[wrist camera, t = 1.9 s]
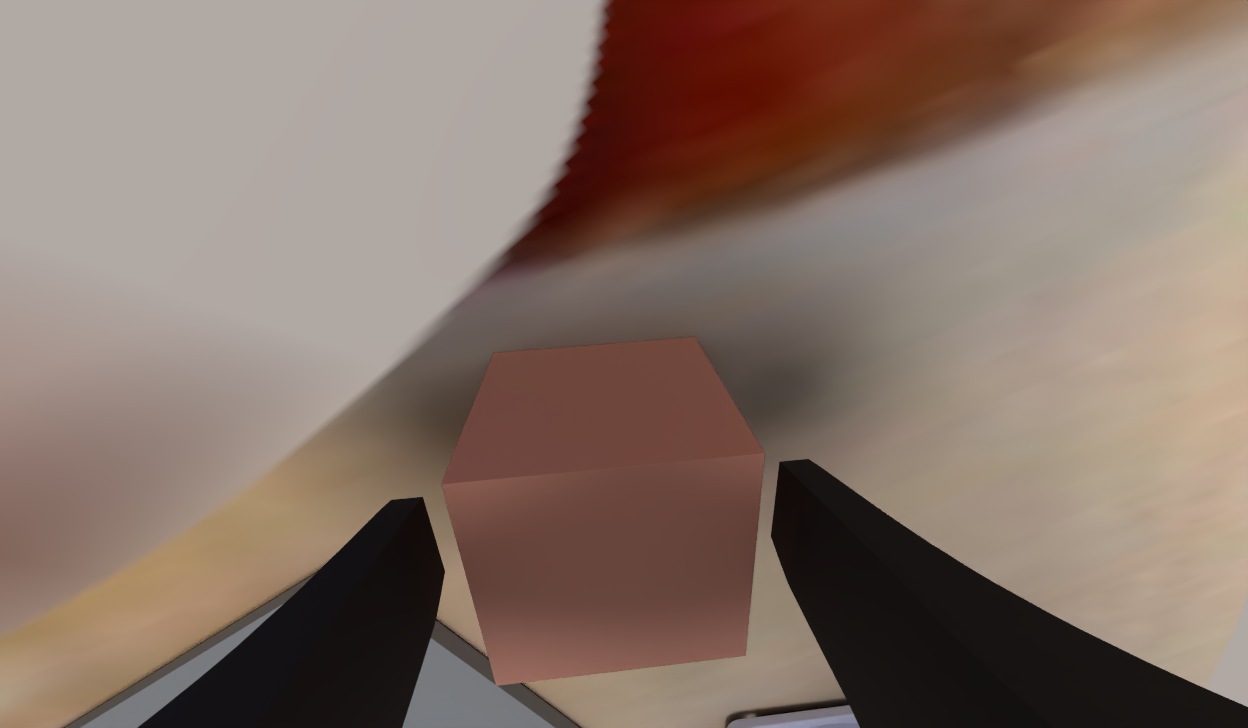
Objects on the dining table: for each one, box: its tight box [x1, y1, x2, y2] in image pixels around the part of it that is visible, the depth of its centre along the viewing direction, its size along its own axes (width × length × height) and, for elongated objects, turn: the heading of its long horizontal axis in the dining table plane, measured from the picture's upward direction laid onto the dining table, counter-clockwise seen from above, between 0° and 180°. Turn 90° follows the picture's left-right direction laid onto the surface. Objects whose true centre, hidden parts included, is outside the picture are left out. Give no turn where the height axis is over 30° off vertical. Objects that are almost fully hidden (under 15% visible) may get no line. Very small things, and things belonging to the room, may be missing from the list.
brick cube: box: [441, 337, 765, 686], centre depth 11 cm, size 5×5×5 cm
